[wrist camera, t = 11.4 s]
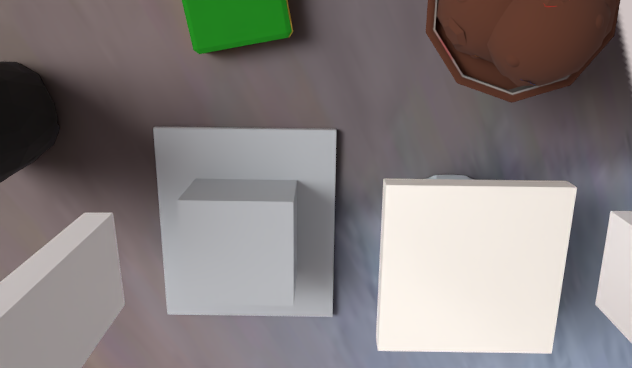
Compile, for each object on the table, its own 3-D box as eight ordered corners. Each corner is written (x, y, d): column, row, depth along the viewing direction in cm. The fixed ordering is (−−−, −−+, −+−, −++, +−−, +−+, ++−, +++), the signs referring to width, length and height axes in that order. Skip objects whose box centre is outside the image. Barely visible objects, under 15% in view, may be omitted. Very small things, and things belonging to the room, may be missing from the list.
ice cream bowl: (585, -11, 38) (741, -34, 24) (480, 112, 41) (564, 159, 27) (473, -111, 37) (570, -198, 22) (371, 25, 39) (399, 25, 25)
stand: (155, 126, 42) (128, 142, 36) (336, 128, 42) (338, 145, 36) (169, 310, 46) (147, 351, 40) (332, 313, 46) (333, 354, 40)
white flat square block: (383, 178, 35) (386, 185, 34) (566, 180, 35) (577, 187, 34) (376, 338, 39) (378, 350, 37) (543, 341, 39) (551, 353, 37)
